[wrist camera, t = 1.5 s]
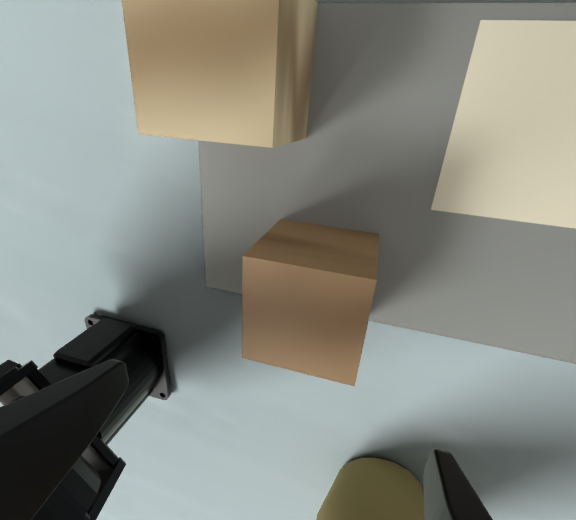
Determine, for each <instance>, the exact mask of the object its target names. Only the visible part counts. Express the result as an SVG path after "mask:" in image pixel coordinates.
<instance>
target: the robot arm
mask: <svg viewBox="0 0 576 520" xmlns="http://www.w3.org/2000/svg"><path fill="white" fill-rule="evenodd" d="M85 323H86V327H87V330H86V331H84V332H83V333H82V334H80V335H79V336H77V337H76V338H75V339H73V340H72V341H70V342H69V343H68V344H66V345H65V346H63V347H62V348H61V349H59V350H58V351H57V352H56V353H55V354H54V359H52V360H51V361H50V362H48V363H47V364H46V365H44V366H43V367H42V368H40V369H39V370H38V369H37V368H38V366H37V365H36V364H35V363H34V362H33V361H30V362H28V363H26V364H25V365H23V366H21V364H20V363H19V364H17V363H15V362H13V361H10V360H7V361H6V362H4V363H3V364H1V365H0V402H1V403H2V404H3V405H4V406H2V407H0V520H96V519H97V517H98V515H99V513H100V511H101V509H102V507H103V506H104V504H105V502H106V500H107V498H108V496H109V495H110V493H111V491H112V489H113V487H114V485H115V484H116V482H117V480H118V478H119V476H120V474H121V473H122V471H123V469H124V467H125V465H126V463H125V462H124V461H123V460H122V459H121V458H118V457H117V456H116V455H115V454H114V452H113V451H112V450H111V449H110V448H109V447H108V446H107V444H108V443H109V442H110V441H111V440H112V439H113V437H114V436H115V435H116V434H117V433H118V431H119V430H120V429H121V428H122V427H123V426H124V424H125V423H126V422H127V421H128V420H129V418H130V417H131V416H132V415H133V414H134V413H135V411H136V410H137V409H138V408H139V407H140V406H141V404H142V403H143V402H144V401H145V400H146V398H147V397H148V396H152V397H156V398H159V399H162V400H167V399H168V398H169V396H170V395H171V389H170V381H169V372H168V364H167V356H166V348H165V339H164V335H163V334H162V333H161V332H160V331H158V330H155V329H151V328H147V327H143V326H139V325H135V324H131V323H127V322H123V321H119V320H115V319H111V318H107V317H103V316H99V315H95V314H91V315H89V316H88V317H86V318H85ZM423 488H424V520H493V519H492V518H491V516H490V515H489V513H488V511H487V510H486V508H485V507H484V505H483V503H482V502H481V500H480V499H479V497H478V495H477V494H476V492H475V491H474V489H473V487H472V486H471V484H470V483H469V481H468V479H467V478H466V476H465V475H464V473H463V471H462V470H461V468H460V467H459V465H458V463H457V462H456V460H455V459H454V457H453V456H452V454H451V453H449V452H447V451H443V450H440V449H436V448H434V449H432V451H431V453H430V455H429V458H428V460H427V463H426V466H425V468H424V474H423Z"/></svg>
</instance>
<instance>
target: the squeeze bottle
mask: <svg viewBox="0 0 576 520" xmlns="http://www.w3.org/2000/svg"><path fill="white" fill-rule="evenodd" d="M317 520H424V491H423V488H422V486H421V484H420V482H419V480H418V479H417V478H416V477H415V476H414V475H413V474H412V473H411V472H410V471H409V470H407V469H405V468H403V467H401V466H400V465H398V464H396V463H394V462H391V461H387V460H383V459H379V458H358V459H355V460H352V461H350V462H347V463H346V464H345V465H344V466H343V467H342V469H341V470H340V471H339V473H338V475H337V477H336V479H335V481H334V483H333V485H332V487H331V489H330V491H329V493H328V495H327V497H326V499H325V501H324V502H323V504H322V506H321V508H320V510H319V512H318V514H317Z"/></svg>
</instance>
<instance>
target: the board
mask: <svg viewBox="0 0 576 520" xmlns="http://www.w3.org/2000/svg"><path fill="white" fill-rule="evenodd" d="M199 159H200V180H201V201H202V221H203V242H204V262H205V283H206V287H211V288H216V289H220V290H225V291H230V292H235V293H240V294H242V271H243V255H244V254H245V253H246V252H247V251H248V250H249V249H250V248H251V247H252V246H253V245H254V244H255V243H256V242H257V241H258V240H259V239H260V238H261V237H262V236H263V235H265V234H266V233H267V232H268V231H269V230H270V229H271V228H272V227H273V226H274V225H275V224H276V223H277V222H278V221H279V220H280V219H284V220H290V221H297V222H304V223H310V224H317V225H324V226H330V227H337V228H343V229H350V230H357V231H363V232H370V233H377V234H379V246H378V266H377V281H376V286H375V291H374V296H373V301H372V305H371V310H370V315H369V321H374V322H379V323H383V324H388V325H393V326H398V327H403V328H407V329H412V330H417V331H422V332H426V333H431V334H436V335H441V336H446V337H450V338H455V339H460V340H465V341H470V342H474V343H479V344H484V345H489V346H494V347H498V348H503V349H508V350H513V351H517V352H522V353H527V354H532V355H537V356H541V357H546V358H551V359H556V360H561V361H565V362H570V363H575V364H576V3H318V6H317V17H316V29H315V41H314V53H313V64H312V76H311V88H310V100H309V111H308V123H307V135H306V139H303V140H299V141H296V142H292V143H288V144H285V145H281V146H277V147H274V148H269V147H259V146H249V145H239V144H229V143H219V142H210V141H200V140H199Z"/></svg>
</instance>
